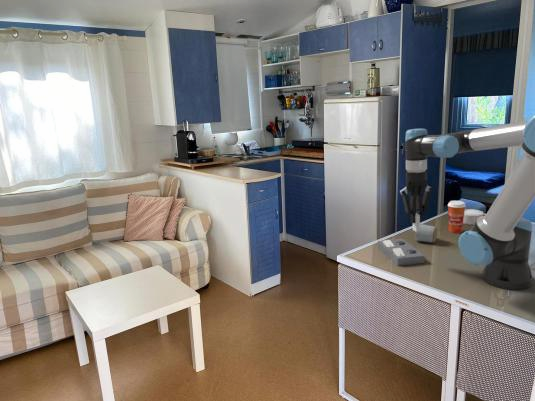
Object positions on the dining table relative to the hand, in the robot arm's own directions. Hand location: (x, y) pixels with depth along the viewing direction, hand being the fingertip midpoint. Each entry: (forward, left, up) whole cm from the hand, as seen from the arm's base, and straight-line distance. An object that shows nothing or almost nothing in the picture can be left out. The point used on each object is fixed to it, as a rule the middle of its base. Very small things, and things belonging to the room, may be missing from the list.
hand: (416, 230), depth 160 cm
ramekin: (+38, -48, -14) cm, 62 cm away
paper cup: (+28, -34, -14) cm, 46 cm away
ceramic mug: (+21, -16, -14) cm, 30 cm away
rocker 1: (+14, +5, -10) cm, 18 cm away
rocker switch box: (+9, +2, -13) cm, 16 cm away
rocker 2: (+4, +5, -10) cm, 12 cm away
